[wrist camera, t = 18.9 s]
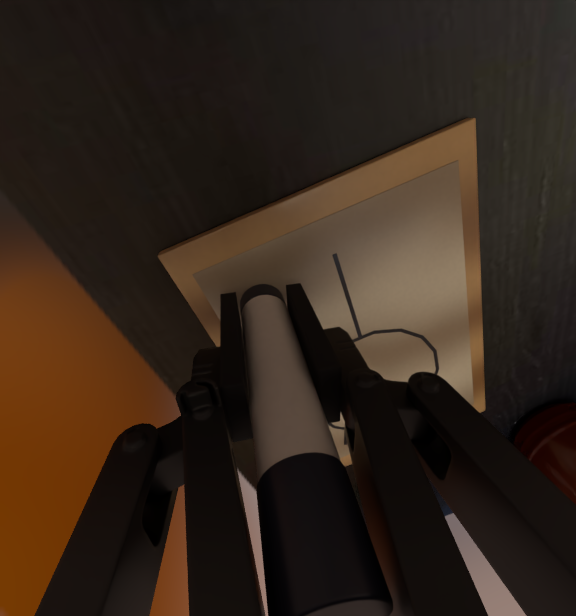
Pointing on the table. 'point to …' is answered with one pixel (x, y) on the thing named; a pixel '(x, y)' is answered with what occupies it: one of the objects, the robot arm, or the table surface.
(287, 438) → the marker
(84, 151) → the table surface
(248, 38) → the table surface
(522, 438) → the mug
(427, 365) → the sketch pad
